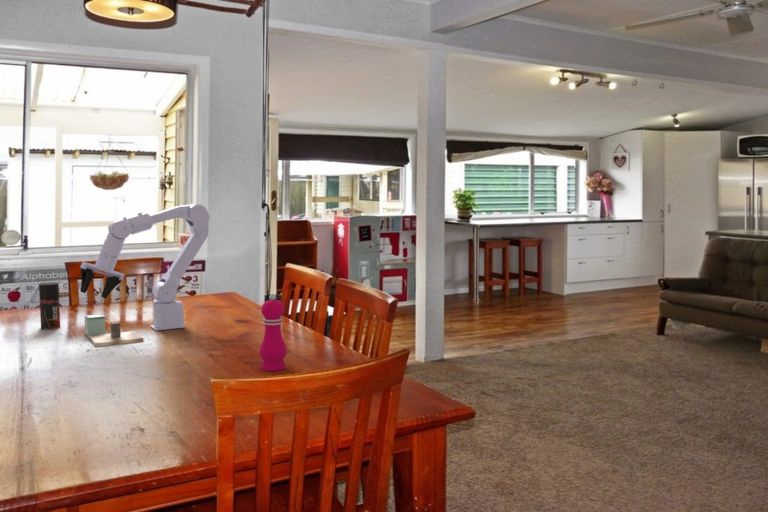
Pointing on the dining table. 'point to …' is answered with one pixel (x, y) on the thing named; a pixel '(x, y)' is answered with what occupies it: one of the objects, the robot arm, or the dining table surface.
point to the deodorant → (49, 305)
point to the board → (116, 340)
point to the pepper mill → (272, 336)
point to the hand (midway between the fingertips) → (93, 295)
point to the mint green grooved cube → (94, 324)
